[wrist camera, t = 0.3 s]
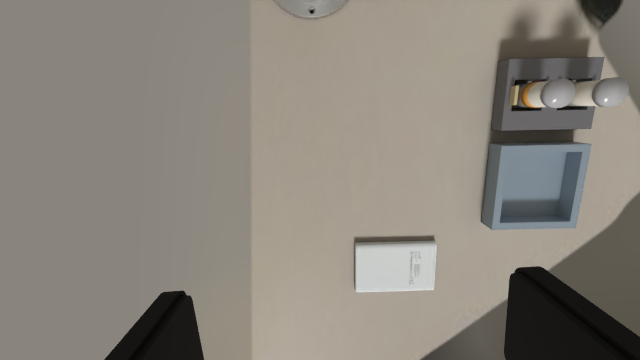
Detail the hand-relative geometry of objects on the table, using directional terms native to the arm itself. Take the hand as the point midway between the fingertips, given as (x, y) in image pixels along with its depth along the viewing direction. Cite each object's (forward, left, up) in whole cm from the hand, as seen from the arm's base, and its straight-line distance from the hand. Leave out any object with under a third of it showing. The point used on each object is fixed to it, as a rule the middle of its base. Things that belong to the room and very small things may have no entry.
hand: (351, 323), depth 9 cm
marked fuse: (-7, +26, -36) cm, 45 cm away
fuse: (-7, +32, -36) cm, 49 cm away
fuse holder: (-7, +29, -36) cm, 47 cm away
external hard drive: (+18, +10, -37) cm, 42 cm away
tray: (+5, +29, -36) cm, 47 cm away
